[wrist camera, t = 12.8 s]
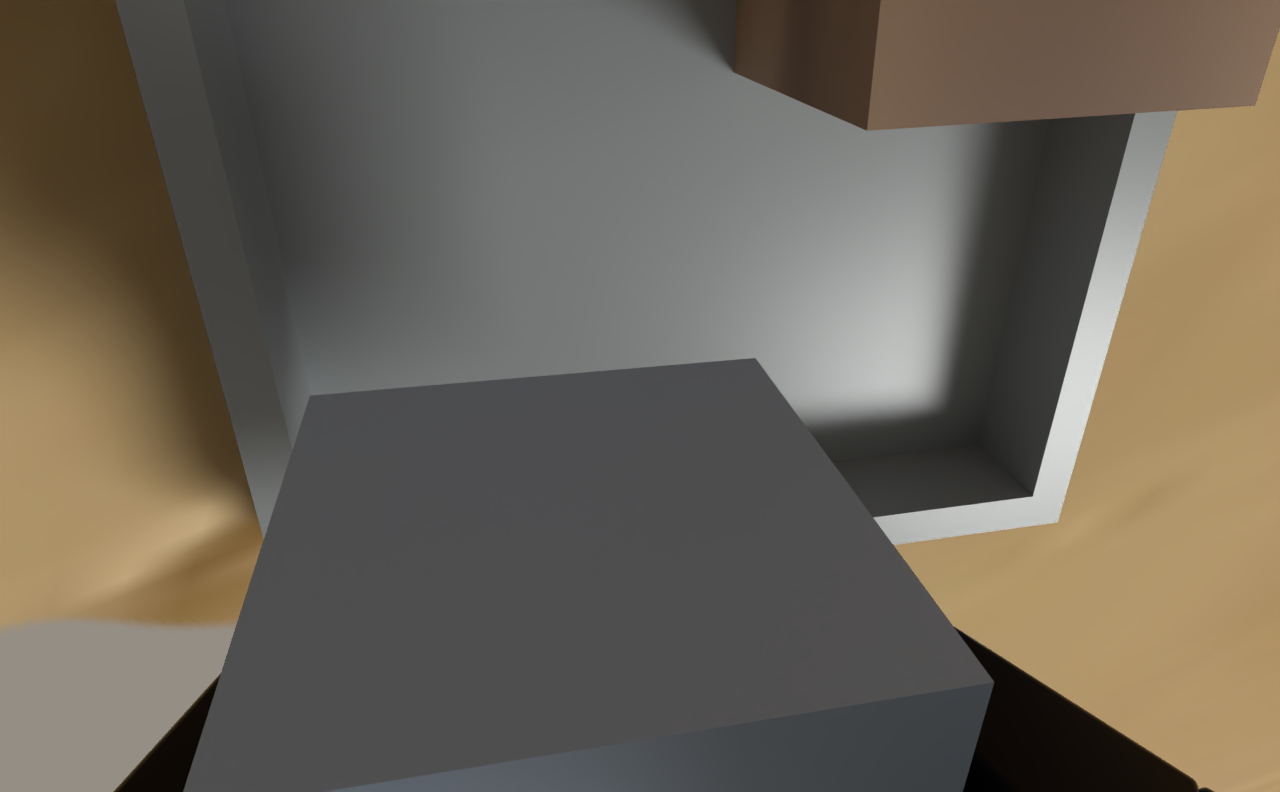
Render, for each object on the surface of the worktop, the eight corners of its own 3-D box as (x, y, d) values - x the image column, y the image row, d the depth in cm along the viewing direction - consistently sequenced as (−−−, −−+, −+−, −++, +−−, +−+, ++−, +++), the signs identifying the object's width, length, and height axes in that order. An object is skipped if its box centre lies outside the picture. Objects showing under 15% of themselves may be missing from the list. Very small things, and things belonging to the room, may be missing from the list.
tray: (1177, -407, 10) (1351, -493, 8) (983, 452, 16) (1057, 522, 14) (64, -495, 8) (-62, -637, 6) (311, 532, 13) (288, 628, 12)
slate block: (755, 357, 8) (993, 682, 4) (731, 665, 10) (883, 1060, 6) (309, 396, 7) (175, 815, 4) (378, 718, 9) (330, 1197, 6)
